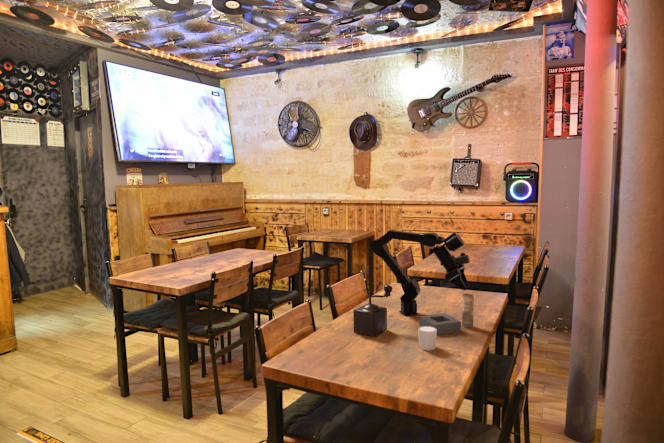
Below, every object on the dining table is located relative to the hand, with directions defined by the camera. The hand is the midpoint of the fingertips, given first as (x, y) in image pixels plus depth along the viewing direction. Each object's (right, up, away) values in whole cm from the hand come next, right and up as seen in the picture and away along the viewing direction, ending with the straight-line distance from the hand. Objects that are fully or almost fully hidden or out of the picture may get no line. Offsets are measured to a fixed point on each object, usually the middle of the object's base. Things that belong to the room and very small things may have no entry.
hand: (466, 287), depth 183 cm
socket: (-14, -16, -8) cm, 22 cm away
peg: (-2, -15, -7) cm, 17 cm away
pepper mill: (-41, -16, -8) cm, 45 cm away
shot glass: (-23, -18, -28) cm, 41 cm away
